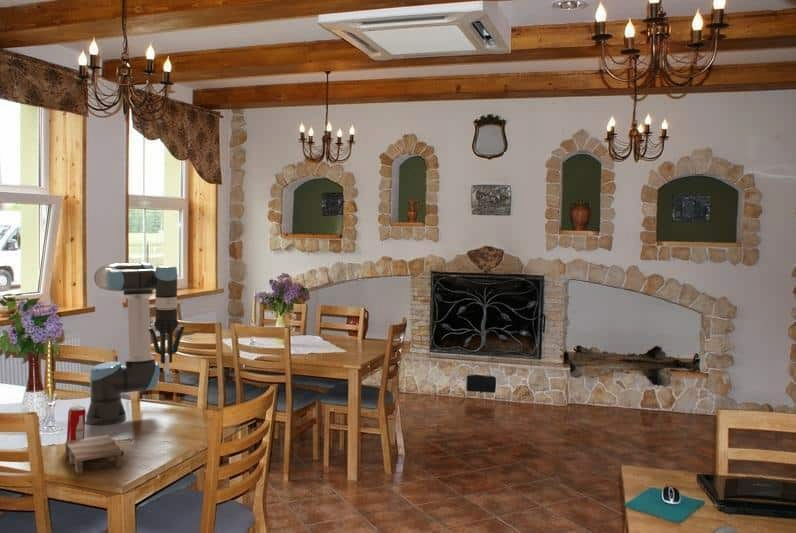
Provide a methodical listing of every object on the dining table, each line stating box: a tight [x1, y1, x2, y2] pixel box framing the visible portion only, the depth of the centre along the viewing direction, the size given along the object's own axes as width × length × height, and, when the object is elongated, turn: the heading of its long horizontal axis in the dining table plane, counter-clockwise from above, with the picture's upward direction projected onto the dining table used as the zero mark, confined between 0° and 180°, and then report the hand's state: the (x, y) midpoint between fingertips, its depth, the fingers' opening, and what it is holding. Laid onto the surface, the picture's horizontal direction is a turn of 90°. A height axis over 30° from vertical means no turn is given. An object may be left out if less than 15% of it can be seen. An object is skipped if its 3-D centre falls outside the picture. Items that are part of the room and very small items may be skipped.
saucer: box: [83, 450, 125, 469], centre depth 237 cm, size 15×15×3 cm
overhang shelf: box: [65, 434, 123, 477], centre depth 236 cm, size 20×14×6 cm
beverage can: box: [66, 405, 87, 441], centre depth 250 cm, size 6×6×15 cm
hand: (166, 371), depth 253 cm, fingers closed
